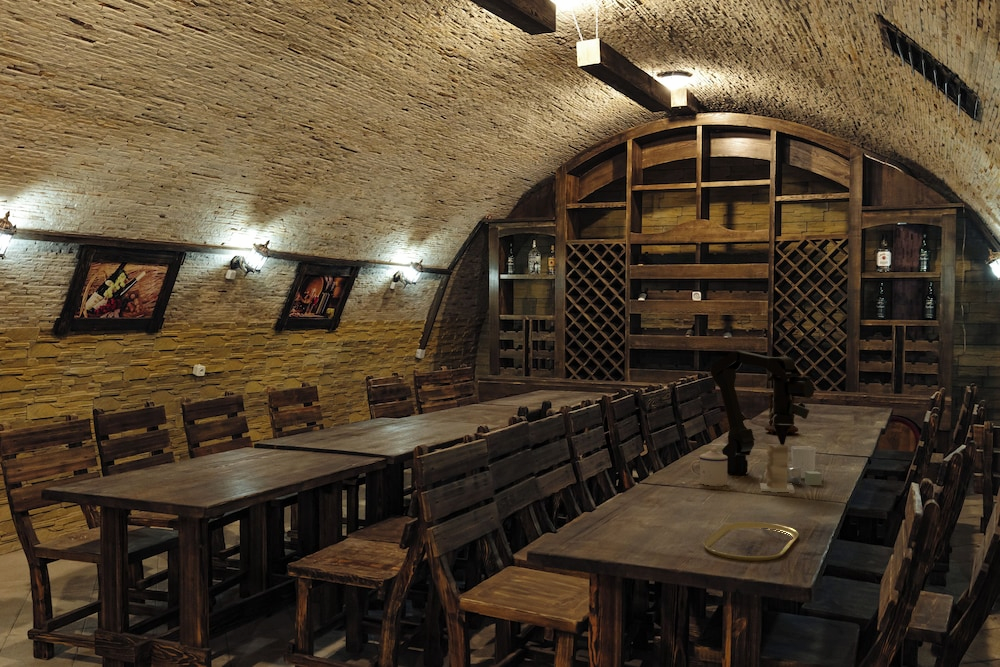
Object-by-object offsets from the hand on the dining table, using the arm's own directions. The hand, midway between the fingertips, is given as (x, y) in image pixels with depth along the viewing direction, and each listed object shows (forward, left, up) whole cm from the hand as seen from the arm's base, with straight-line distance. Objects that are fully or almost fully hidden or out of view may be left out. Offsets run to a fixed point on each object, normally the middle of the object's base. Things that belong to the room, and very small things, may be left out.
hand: (781, 442), depth 300 cm
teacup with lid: (-23, -9, -13) cm, 28 cm away
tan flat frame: (-12, -82, -14) cm, 84 cm away
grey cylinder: (+4, -1, -13) cm, 14 cm away
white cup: (+8, +12, -13) cm, 20 cm away
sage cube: (+10, -1, -13) cm, 17 cm away
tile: (-2, -13, -13) cm, 19 cm away
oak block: (-2, -13, -12) cm, 18 cm away
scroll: (+8, +121, -13) cm, 122 cm away
